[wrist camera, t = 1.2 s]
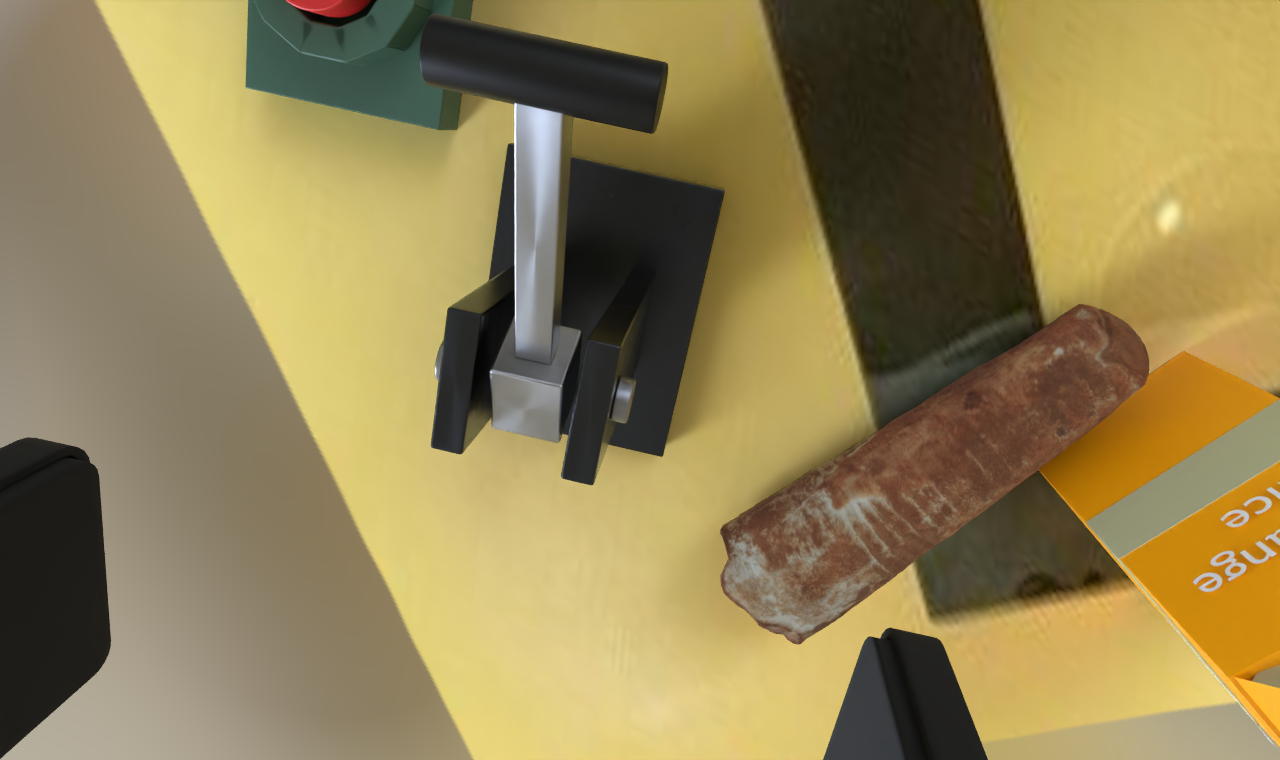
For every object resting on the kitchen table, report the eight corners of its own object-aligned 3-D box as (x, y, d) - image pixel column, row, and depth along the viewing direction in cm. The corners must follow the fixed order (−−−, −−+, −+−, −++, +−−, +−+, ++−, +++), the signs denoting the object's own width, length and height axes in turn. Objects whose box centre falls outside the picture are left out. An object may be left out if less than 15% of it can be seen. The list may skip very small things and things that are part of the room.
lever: (449, -9, 17) (406, 41, 15) (675, 40, 17) (655, 95, 15) (472, 364, 26) (447, 418, 24) (618, 397, 26) (602, 454, 24)
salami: (705, 512, 37) (702, 576, 32) (1078, 270, 32) (1149, 299, 26) (783, 606, 38) (792, 683, 33) (1155, 388, 33) (1237, 438, 28)
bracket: (515, 142, 32) (390, 152, 20) (725, 188, 32) (724, 226, 20) (477, 403, 36) (354, 542, 24) (664, 447, 36) (633, 609, 24)
